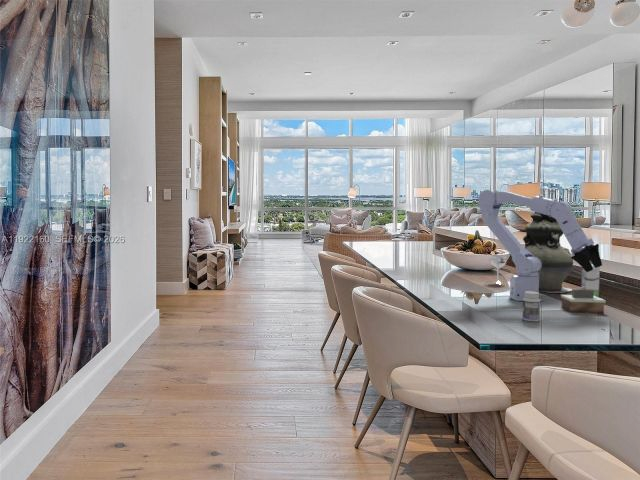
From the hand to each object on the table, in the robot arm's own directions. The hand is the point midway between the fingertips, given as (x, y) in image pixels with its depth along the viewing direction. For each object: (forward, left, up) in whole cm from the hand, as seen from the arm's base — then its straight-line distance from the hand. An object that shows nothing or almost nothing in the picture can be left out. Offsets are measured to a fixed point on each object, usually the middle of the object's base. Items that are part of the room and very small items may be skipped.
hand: (594, 268), depth 168 cm
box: (-5, -4, -13) cm, 15 cm away
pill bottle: (-27, -21, -13) cm, 37 cm away
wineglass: (-17, +53, -13) cm, 57 cm away
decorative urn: (-3, +37, -14) cm, 39 cm away
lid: (-5, -4, -10) cm, 12 cm away
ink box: (+11, +27, -14) cm, 32 cm away
